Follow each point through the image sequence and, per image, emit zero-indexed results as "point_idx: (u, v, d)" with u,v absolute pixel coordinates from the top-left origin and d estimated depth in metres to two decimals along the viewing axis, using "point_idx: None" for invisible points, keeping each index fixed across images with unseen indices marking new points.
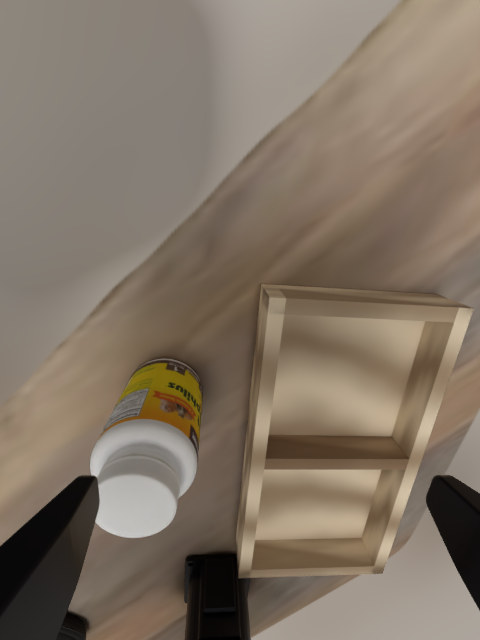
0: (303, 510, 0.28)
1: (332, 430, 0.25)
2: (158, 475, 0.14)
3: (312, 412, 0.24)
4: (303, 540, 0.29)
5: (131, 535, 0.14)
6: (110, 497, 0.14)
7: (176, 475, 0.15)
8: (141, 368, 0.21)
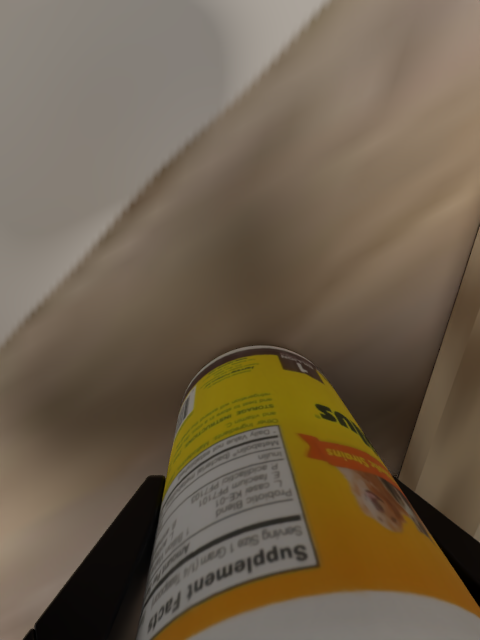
0: None
1: None
2: None
3: None
4: None
5: None
6: None
7: None
8: (217, 367, 0.09)
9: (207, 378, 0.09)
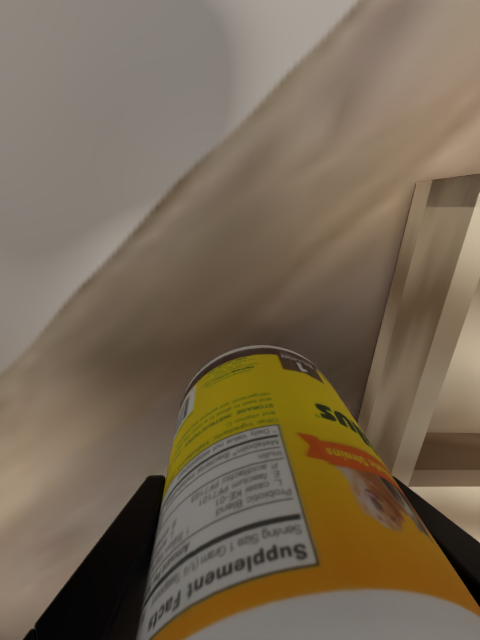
0: None
1: None
2: None
3: (466, 397, 0.16)
4: None
5: None
6: None
7: None
8: (217, 366, 0.09)
9: (207, 378, 0.09)
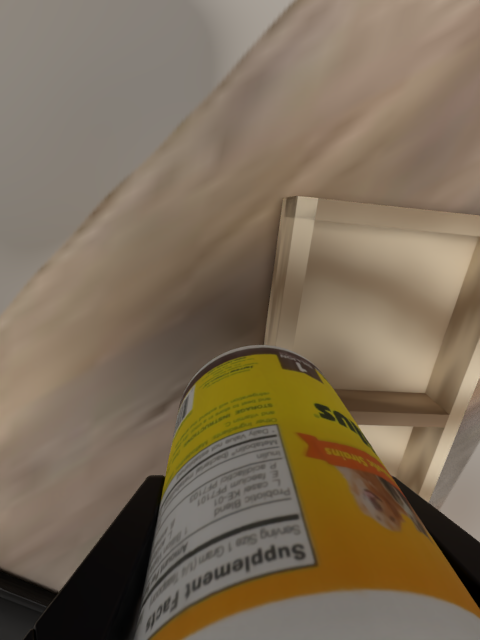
0: None
1: (358, 383, 0.21)
2: None
3: (336, 360, 0.21)
4: None
5: None
6: None
7: None
8: (216, 366, 0.09)
9: (206, 378, 0.09)
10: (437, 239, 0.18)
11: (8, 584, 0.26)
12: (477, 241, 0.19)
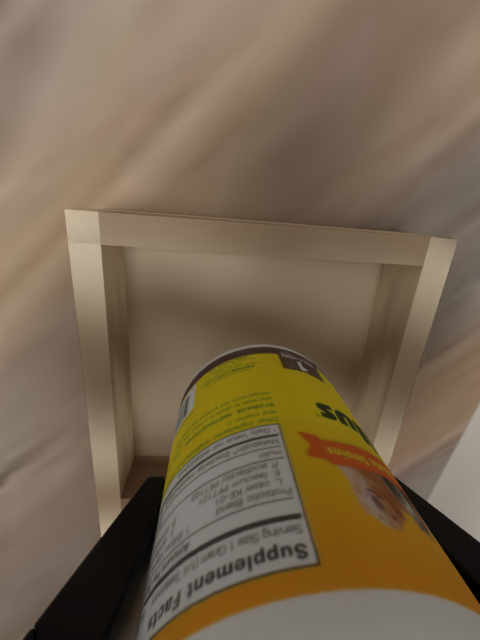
0: None
1: None
2: None
3: None
4: None
5: None
6: None
7: None
8: (217, 365, 0.09)
9: (207, 377, 0.09)
10: (327, 261, 0.13)
11: None
12: (384, 263, 0.13)
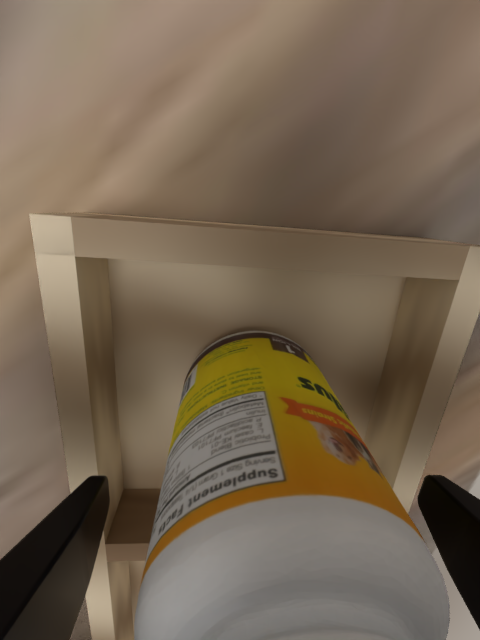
0: None
1: None
2: None
3: None
4: None
5: None
6: None
7: None
8: (216, 348, 0.11)
9: (207, 358, 0.10)
10: (342, 272, 0.11)
11: None
12: None
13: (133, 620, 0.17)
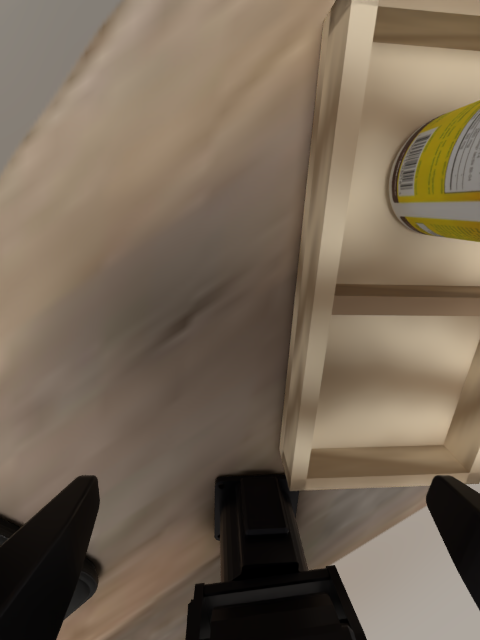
0: (370, 404, 0.21)
1: (417, 276, 0.18)
2: None
3: (391, 245, 0.17)
4: (368, 448, 0.22)
5: None
6: None
7: None
8: (434, 119, 0.14)
9: (431, 123, 0.14)
10: None
11: None
12: None
13: None
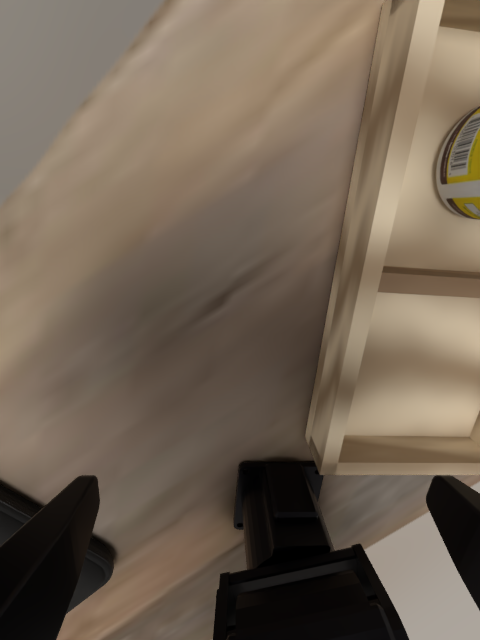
0: (401, 391, 0.21)
1: (456, 261, 0.18)
2: None
3: (433, 229, 0.17)
4: (396, 437, 0.22)
5: None
6: None
7: None
8: None
9: None
10: None
11: None
12: None
13: None
